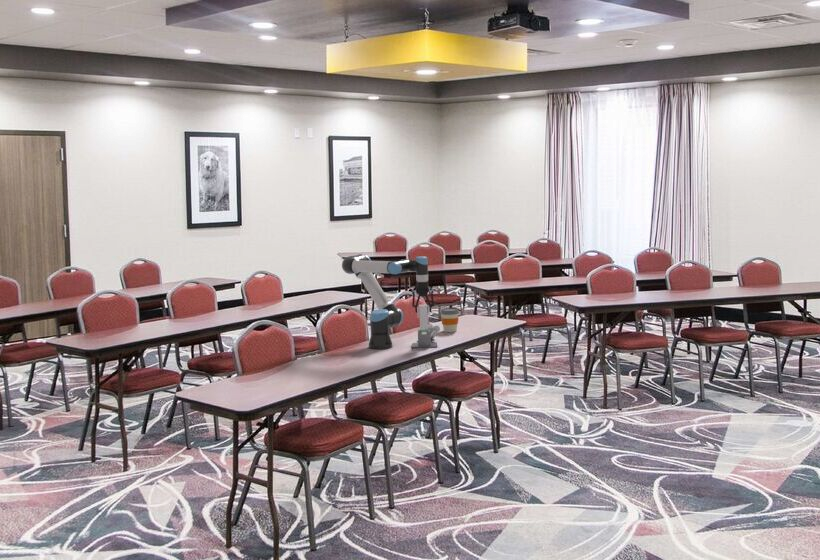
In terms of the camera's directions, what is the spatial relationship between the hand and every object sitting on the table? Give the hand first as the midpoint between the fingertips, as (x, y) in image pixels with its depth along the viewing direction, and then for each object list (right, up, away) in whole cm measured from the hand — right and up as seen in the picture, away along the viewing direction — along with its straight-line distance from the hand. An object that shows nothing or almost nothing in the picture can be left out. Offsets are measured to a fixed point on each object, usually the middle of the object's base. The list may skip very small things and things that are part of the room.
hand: (423, 317), depth 548 cm
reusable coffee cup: (+19, -12, +53) cm, 57 cm away
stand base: (+1, -18, +2) cm, 18 cm away
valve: (+2, -16, +19) cm, 25 cm away
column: (0, -10, +1) cm, 10 cm away
